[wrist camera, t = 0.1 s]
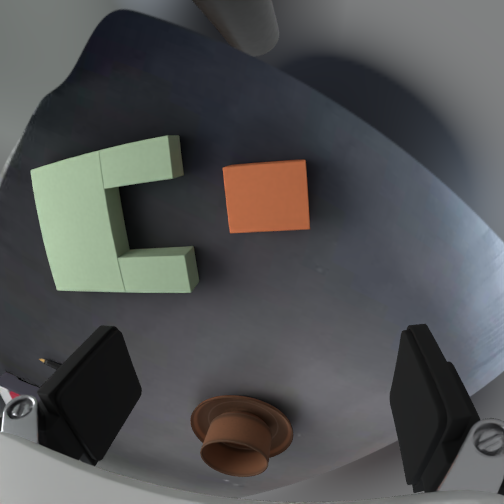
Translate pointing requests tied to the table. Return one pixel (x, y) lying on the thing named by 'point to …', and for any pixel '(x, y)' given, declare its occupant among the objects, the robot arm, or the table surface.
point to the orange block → (267, 196)
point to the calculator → (15, 388)
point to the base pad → (108, 221)
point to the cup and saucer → (240, 434)
